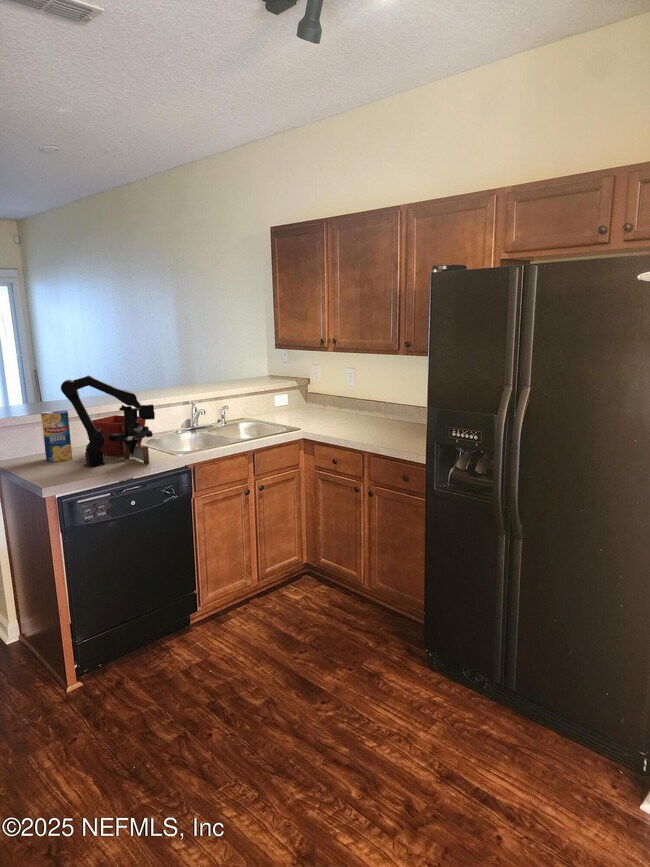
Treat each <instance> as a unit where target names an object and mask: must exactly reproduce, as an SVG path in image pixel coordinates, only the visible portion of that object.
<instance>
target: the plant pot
mask: <svg viewBox="0 0 650 867" xmlns="http://www.w3.org/2000/svg"><path fill="white" fill-rule="evenodd" d="M91 420H92V422H93V424H94V426H95V427H96V428H97V430H99V429H101V431H102V433H103V435H104V436H105V439H104V446H103V447H102V448H101V449H100V450H101V451H102V454H103V456H111V457H112V456H113V457H124V450H123V443H125V442H124V441H119V442H115V441H111V440H109V436H110V434H115V433H119V434H123V431H124V425H123V424H122V422H124V415H121V414H120V415H119V414H118V415H117V414H115V415H114V414H113V415H110V416H104V417H100V418H96V419H91ZM137 421H138V422H139V424H140V427H144V426H146V421H147V420H142V419H141V417H140V418H139V415H137ZM139 439H141V440H139V441H138V442H137V445H140V446H142V441H143V438H139ZM129 455H131V453H130V451H129Z"/></svg>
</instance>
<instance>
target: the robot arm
mask: <svg viewBox="0 0 650 867" xmlns="http://www.w3.org/2000/svg"><path fill="white" fill-rule="evenodd" d="M85 387H91V388H93V389H95V390H98V391H100V392H103V393H105V394H107V395H109V396H112V397H114V398H115V399H117V400H118V401H120V402H121V403H122V405H121V406H120V407H119V409H118V410H119V411H121V412H122V411H123V416H124V422H122V424H123V425H124V431H123V434H119V433H115V434H110V436H109V440H111V441H115V442H119V441H124V442H125V444H126V445H127V447H128V449H129V451H130V453H131V454H133V452H134V449H135V446H136V444H137V442H138V441H139V440H141V439H139V438H142V439H145V438H153V434H154V433H153V431H152V430H150V428H149V426H148V425H145V426H144V427H140V424H139V422H138V421H137V416H139V418H140V417H141V419H142V420H146V421H147V420H151V421H152V420H155V416H156V413H155V406H154V404H152V403H151V404H150V403H149V404H141V402H139V401H138V399H137V398H138V397H137V395H136V394H135V392H133V391H130V390H126V389H122V388H121V389H120V388H119V387H116V386H113V385H111V384H108V383H106V382H103V381H102V380H99V379H97V378H94V376H91V375H86V376H84V377H80V378H77V379H73V380H72V379H67V380H64V381H63V382H62V383H61V385H60V391H61V393H62V394H63V395H64V396H65V397H66V399H67V400H68V401H69V402H70V403H71V405H72V406H73V408H74V411H75V412H76V414H77V417H78V418H79V419H80V421H81V424H82V425H83V427H84V429H85V431H86V434H87V438H88V441H89V442H88V444H87V445H86V446H85V452H84V456H85V463H84V464H83V465H84V466H86V467H90V468H95V467H101V466H103V465H106V463H105V462H104V460H105V459H104V455H103V454H102V451H101V450H100V449H101V448H102V447H103V446H104V439H105V436H104V435H103V433H102V431H101V429H99V430H97V428H96V427H95V426H94V424H93V422H92V420H93V419H92V418H91V417H90V415H89V413H88V411H87V408H86V407H85V405H84V403H83V401H82V400H81V398H80V393H79V390H80V389H83V388H85ZM124 404H125V405H126V406H125V405H124ZM131 454H130V455H131Z"/></svg>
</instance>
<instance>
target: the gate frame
mask: <svg viewBox="0 0 650 867" xmlns="http://www.w3.org/2000/svg"><path fill="white" fill-rule="evenodd" d="M142 446H143V460H144V461H143V465H144V464H145V465H146V466H147V464H148V465H150V454H149V453H150V452H149V446H148V445H142ZM123 450H124V456H123V459H128V460H130V457H131V456H130V454H129V449H128V447H127V445H126V444H125V443H123Z"/></svg>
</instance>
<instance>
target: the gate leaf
mask: <svg viewBox="0 0 650 867" xmlns="http://www.w3.org/2000/svg"><path fill="white" fill-rule="evenodd" d="M143 446H144V445H137V444H136V446H135V449H134V452H133V454H130V457H132V458H134V459H138V460H140V461H143V462H144V460H143Z"/></svg>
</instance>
